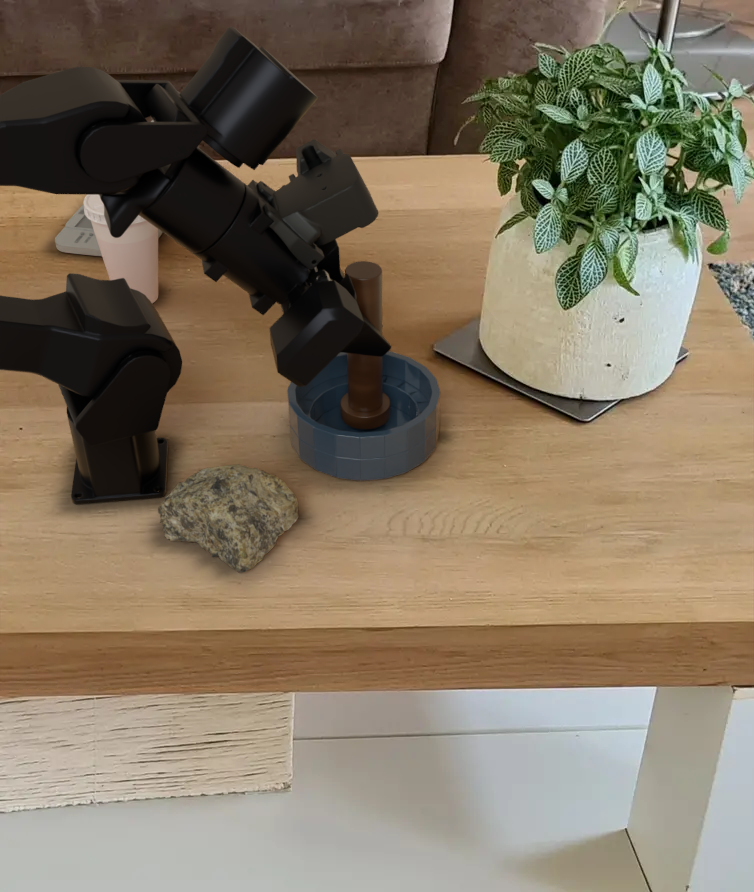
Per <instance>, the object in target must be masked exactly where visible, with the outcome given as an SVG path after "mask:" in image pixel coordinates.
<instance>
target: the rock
mask: <svg viewBox="0 0 754 892" xmlns="http://www.w3.org/2000/svg"><path fill="white" fill-rule="evenodd" d="M157 513H158V514H159V517H160V521H159V524H162V531H163V533H164V537H165V538H166V540H169V541H170V542H183V543H184V542H189V543H197V544H198V545H199V546H200V547H201V548H202V549H203V550H204V551H206V552H209V554H210V556H211V558H217V557H218V559H219V560H220V561H222V562H224V563H225V564H226V565H228V566H229V568H231V569H233V570H234V571H236V572H237V573H239V574H242V573H246V572H247V571H249V570H251V569H253V568H254V567H255V566H257V565H258V563H260V562H261V561H263V560H264V556H265V555H268V553H270V551H271V550H272V549H273V548H274V547H275V546H276V544H277V540H278V538H279V537H281V536H282V535H284V534H285V532H286V531H289V530H290V528H291V527H292V526H293V525H294V524H295V523H296V522H297V521H298V518H299V502H298V499H297V496H296V495H295V493H294V492H293V490H292V489H291V488H289V487H288V484H287V483H286V482H285V481H284V480H282V478H280V477H278V476H277V475H273V474H270V473H269V472H266V471H264V470H262V469H260V468H258V467H249V466H247V465H241V464H240V463H239V464H238V463H237V464H226V465H225V464H224V465H220V466H219V465H217V466H212V467H206V468H202V469H200V470H198V471H197V472H195V473H194V474H191V475H190V476H188V477H186V479H185V480H184V481H180V482H178V483H177V484H176V485H175V486H174V488H173V489H172V490H171V492H170V494H168V495H167V496H165V497H164V500H163V501H161V502H160V503H159V506H158V508H157Z"/></svg>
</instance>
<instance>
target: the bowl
mask: <svg viewBox="0 0 754 892" xmlns="http://www.w3.org/2000/svg"><path fill="white" fill-rule="evenodd" d="M286 392H287V393H286V394H287V405H288V408H287V409H288V421H289V422H288V423H289V434H290V436H289V437H290V444H291V447H292V449H293V450H294V452H295V453H296V455H297V456H298V458H299V459H300V460H301V461H302V462H304V463H305V464H306V465H307V466H309V467H311V468H312V469H313V470H315V471H317V472H320V473H322V474H325V475H327V476H331V477H333V478H337V479H343V480H349V481H359V482H360V481H361V482H362V481H363V482H364V481H365V482H366V481H377V480H386V479H390V478H393V477H395V476H399V475H403V474H406V473H409V472H410V471H411V470H413V469H415V468H416V467H418V466H420V465H422V464H423V463H425V462H426V460H427V459H428V458H430V455H431V454H432V453H433V452H434V451H435V450H436V448H437V445H438V440H439V436H440V413H441V412H440V411H441V390H440V387H439V382H438V379H437V378H436V376H435V375H434V374H433V373H432V372H431V371H430V369H429V368H428V367H427V366H425V365H424V364H422V363H421V362H418V360H416V359H414V358H412V357H410V356H408V355H404V354H400V353H397V352H395V351H391V350H389V351H388V352H387V353H386V354H385V355H384V356H382V392H383V393H385V394H386V395H387V396H388V397H389V399H390V418H389V420H388V421H387V422H386V423H385V424H384V425H382V426H380V427H377V428H374V429H357V428H353V427H351V426H349V425H347V424H346V423H345V422H344V421H343V420H342V418H341V411H340V402H341V399H342V397H343V396H344V395H345V394H346V393H348V374H347V353H343V352H340V353H339V354H338V355H337V356H336V357H335V358H334V359H333V360H332V361H331V362H330V363H329V364H328V365H327V366H326V367H325V368H324V369H323V370H322V371H321V372H320V373H319V374H318V375H317V376H316V377H315V378H314V379H313V380H312V381H311V382H310V383H309V384H308V385H307V386H302V387H298V386H297V385H295V384H294V383H292V382H291V381H290V382H289V385H288V387H287V390H286Z"/></svg>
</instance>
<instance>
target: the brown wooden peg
mask: <svg viewBox="0 0 754 892" xmlns="http://www.w3.org/2000/svg"><path fill="white" fill-rule="evenodd" d="M344 274H345V276H346V275H347V274H349V276H350V279H351V281H352V284H353V287H354V289H355V292H356V301H357V304H358V306H359V309H360V312H361V313H362V314H363V315H364V316H365V317H366V318H367V319H368V320H369V321H370V322H371V323H372V324H373V325H374V326H375V328H376V329H377V330H378V331H379V332H380V333H381V334H382V335H383V327H382V325H383V268H382V267H381V266H380V265H379V264H377V263H375V262H373V261H367V260H366V261H365V260H359V261H354V262H352V263H349V264H348V265H346V267H345V269H344ZM347 374H348V393H346V394H345V395H344V396H343V397H342V399H341V402H340V411H341V418H342V420H343V421H344V422H345V423H346V424H347V425H349V426H351V427H353V428H357V429H374V428H377V427H380V426H382V425H384V424H385V423H386V422H387V421H388V420H389V418H390V399H389V397H388V396H387V395H386V394H385V393H383V392H382V357H377V356H369V355H360V354H352V353H347Z"/></svg>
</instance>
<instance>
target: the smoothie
mask: <svg viewBox="0 0 754 892" xmlns="http://www.w3.org/2000/svg"><path fill="white" fill-rule="evenodd" d="M82 201H83V202H82V204H84V213H85V215H86V217H87V218H88V219H89V220H91V223H92V226H93V229H94V233H95V235H96V239H97V242H98V245H99V248H100V251H101V254H102V256H101V257H102V260H103V263H104V266H105V267H104V268H105V269H106V273H107V276H108V280H115V279H120V278H124V279H125V280H126V282H127V284H128V285H129V287H130V288H131V289H134V290H137V291H139V292H141V293H143V294H144V295H146V297H147V298H148V299H149V300H150V301H151V303H152V304H153V303H155V302H156V301H157V300H158V299H159V238H158V228H156V227H155V226H153V225H152V224H151V223H149V222H148V221H146V220H145V219H143V218H142V217H141V216H139V215H138V216H137V217H136V219H135V220H134V221H133V222H132V224H131V225H130V226H129V227H128V229H127V230H126V231H125V232H124V234H123V235H122V236H121V237H119V238H115V237H113V236H112V235H111V234H110V231H109V228H108V225H107V222H106V220H105V217H104V204H103V202H102V201H101V198H100V196H99V195H86V194H85V197H84V198H83V200H82Z"/></svg>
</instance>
